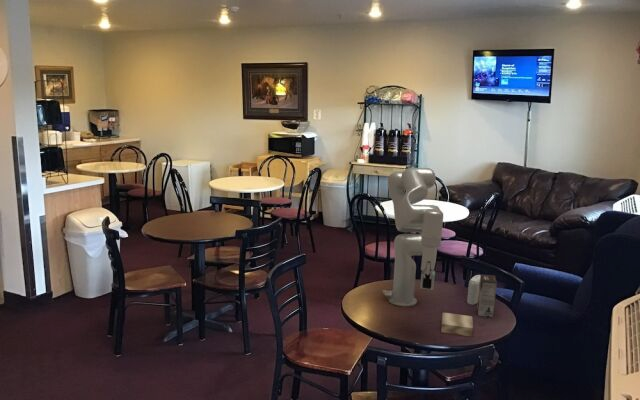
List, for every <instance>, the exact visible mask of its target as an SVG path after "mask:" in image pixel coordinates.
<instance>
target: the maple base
mask: <svg viewBox="0 0 640 400" xmlns="http://www.w3.org/2000/svg"><path fill="white" fill-rule="evenodd" d="M441 316H442V317H441V329H440V333H443V334H451V335H458V336H465V337H473V331H474V325H473V324H474V323H473V322H474V321H473V316H472V315H471V316H470V315H466V314H465V315H464V314H458V313H456V314H455V313H450V312H442V315H441Z"/></svg>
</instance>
